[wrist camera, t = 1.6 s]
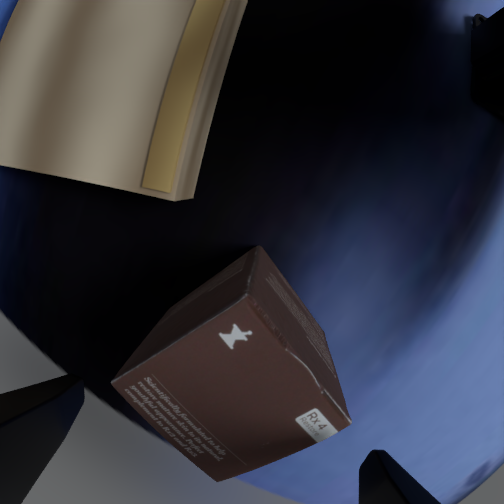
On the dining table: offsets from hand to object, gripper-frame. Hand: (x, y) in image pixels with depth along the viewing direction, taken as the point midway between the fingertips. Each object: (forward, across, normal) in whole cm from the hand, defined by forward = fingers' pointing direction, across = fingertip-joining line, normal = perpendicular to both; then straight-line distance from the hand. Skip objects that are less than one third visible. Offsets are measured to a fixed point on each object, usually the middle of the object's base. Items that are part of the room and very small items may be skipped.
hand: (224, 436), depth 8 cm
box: (+9, 0, 0) cm, 9 cm away
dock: (+8, +11, -11) cm, 18 cm away
